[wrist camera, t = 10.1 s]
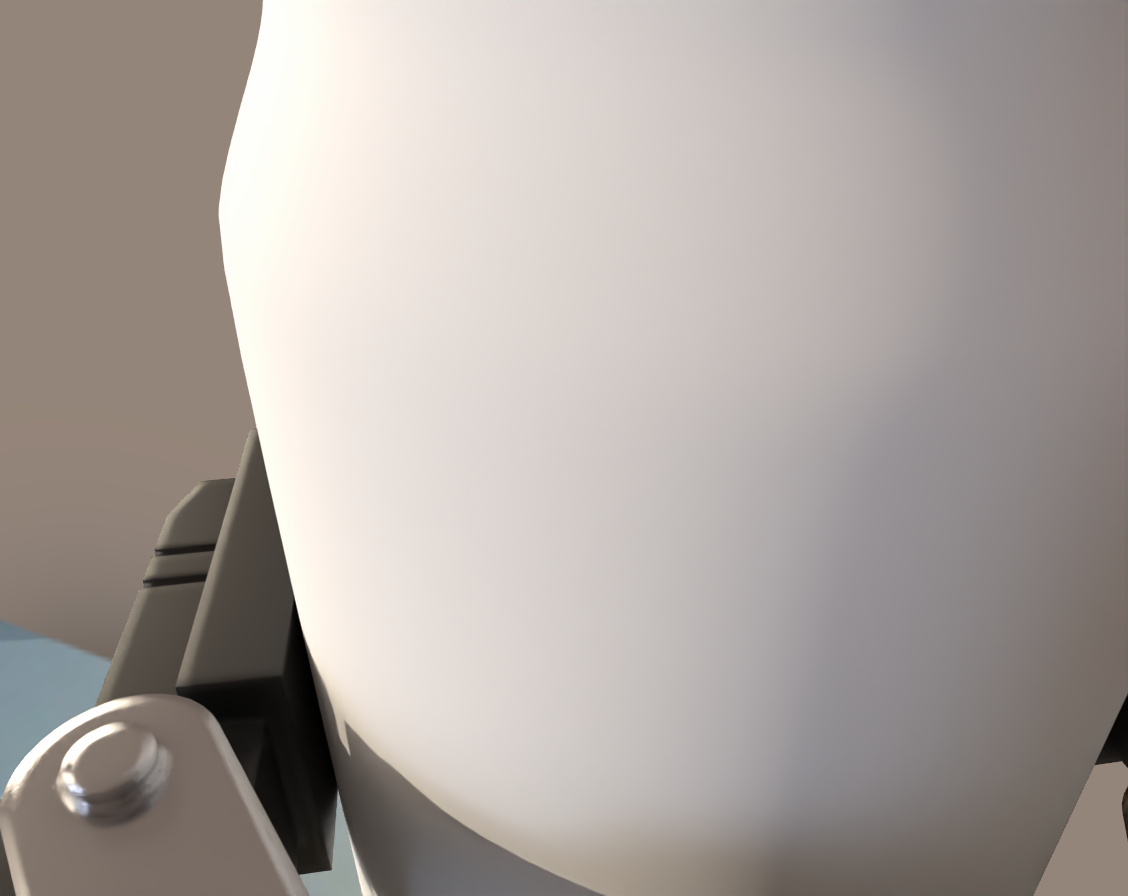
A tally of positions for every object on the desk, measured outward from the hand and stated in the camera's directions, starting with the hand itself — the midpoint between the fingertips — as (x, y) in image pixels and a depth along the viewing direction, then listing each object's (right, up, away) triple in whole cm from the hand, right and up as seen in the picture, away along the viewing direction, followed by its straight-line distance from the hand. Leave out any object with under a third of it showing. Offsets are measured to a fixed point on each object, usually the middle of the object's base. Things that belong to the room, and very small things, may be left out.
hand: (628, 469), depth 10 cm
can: (0, -7, +2) cm, 7 cm away
